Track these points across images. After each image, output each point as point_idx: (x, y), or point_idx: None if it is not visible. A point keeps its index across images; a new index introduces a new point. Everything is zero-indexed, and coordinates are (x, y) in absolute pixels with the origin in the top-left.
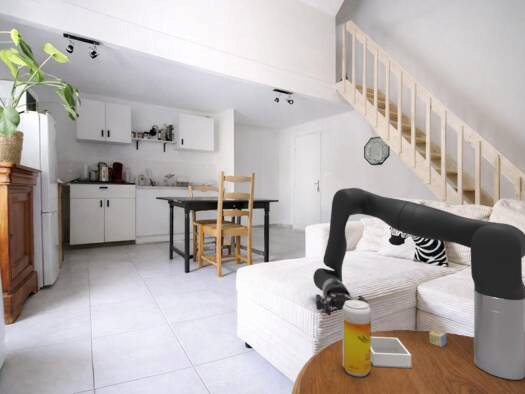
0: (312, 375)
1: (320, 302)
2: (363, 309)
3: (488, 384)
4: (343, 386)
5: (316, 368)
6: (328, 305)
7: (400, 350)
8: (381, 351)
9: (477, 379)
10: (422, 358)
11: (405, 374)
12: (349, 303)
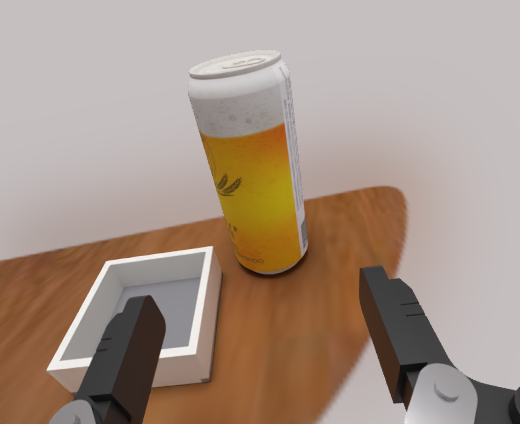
0: (382, 214)
1: (510, 397)
2: (224, 61)
3: (8, 268)
4: (309, 204)
5: (379, 236)
6: (387, 299)
7: (93, 330)
8: None
9: (8, 279)
10: (40, 345)
11: None
12: (260, 59)
